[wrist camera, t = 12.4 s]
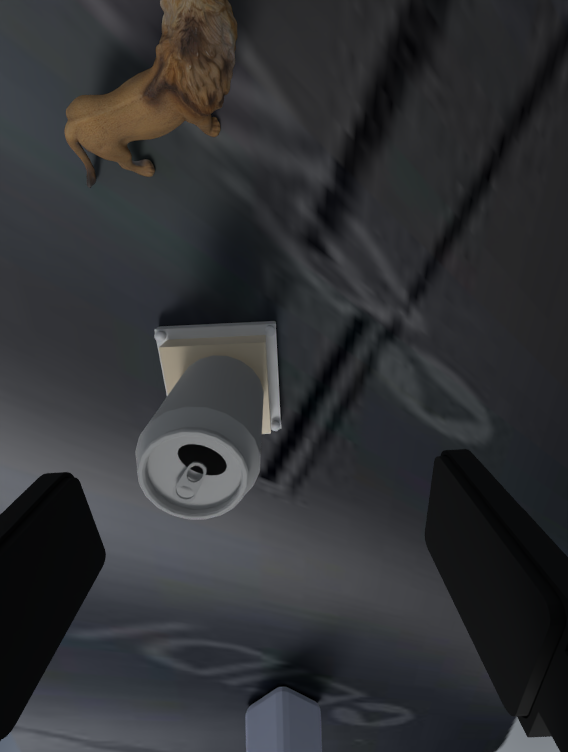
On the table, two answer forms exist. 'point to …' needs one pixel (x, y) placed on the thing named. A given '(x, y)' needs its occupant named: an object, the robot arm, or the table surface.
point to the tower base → (235, 332)
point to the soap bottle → (283, 723)
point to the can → (204, 440)
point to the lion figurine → (161, 88)
